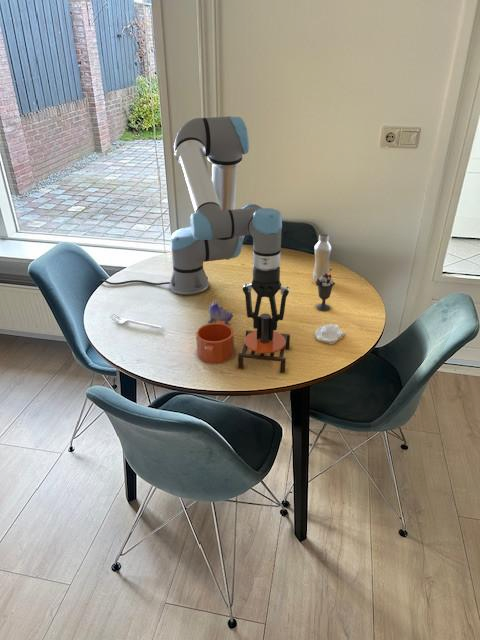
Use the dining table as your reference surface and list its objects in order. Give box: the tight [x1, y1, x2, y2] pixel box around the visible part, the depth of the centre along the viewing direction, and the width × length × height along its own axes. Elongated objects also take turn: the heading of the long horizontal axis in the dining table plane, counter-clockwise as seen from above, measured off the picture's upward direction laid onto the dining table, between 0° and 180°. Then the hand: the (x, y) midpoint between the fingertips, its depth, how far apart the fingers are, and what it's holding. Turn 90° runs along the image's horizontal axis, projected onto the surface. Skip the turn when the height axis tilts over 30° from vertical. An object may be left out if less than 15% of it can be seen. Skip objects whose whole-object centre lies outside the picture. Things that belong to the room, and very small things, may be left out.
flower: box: [207, 299, 234, 326], centre depth 163 cm, size 9×9×10 cm
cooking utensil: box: [109, 313, 163, 330], centre depth 165 cm, size 3×20×2 cm, turn 70°
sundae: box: [315, 268, 336, 312], centre depth 171 cm, size 7×7×15 cm
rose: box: [314, 323, 346, 345], centre depth 156 cm, size 10×4×10 cm
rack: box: [237, 329, 291, 374], centre depth 146 cm, size 14×14×5 cm
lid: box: [244, 312, 286, 355], centre depth 143 cm, size 12×12×10 cm
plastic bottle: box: [311, 233, 332, 284], centre depth 188 cm, size 6×7×20 cm
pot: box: [195, 321, 235, 364], centre depth 148 cm, size 11×17×8 cm
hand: (265, 337), depth 144 cm, fingers closed on lid, 3 cm apart
